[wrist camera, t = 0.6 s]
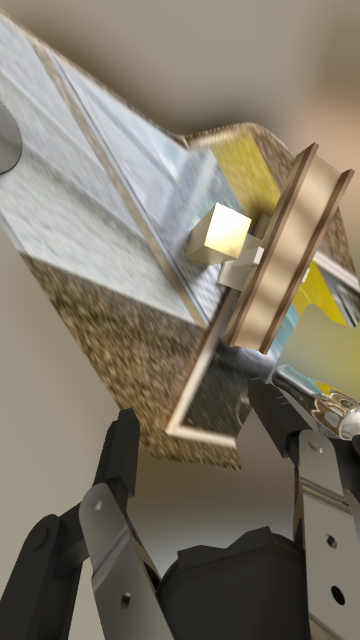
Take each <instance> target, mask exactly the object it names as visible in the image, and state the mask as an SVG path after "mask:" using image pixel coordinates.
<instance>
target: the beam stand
mask: <svg viewBox="0 0 360 640" xmlns="http://www.w3.org/2000/svg"><path fill="white" fill-rule="evenodd" d="M261 242H262V240H261V239H259V238H256V237H254V236H252V235H250V234H248V233H247V234H246V237H245V240H244V243H243V246H242V249H241V252H240V255H239V258H238V259H235V260H231V261H227V262H223V265H222V268H221V272H220V275H219V278H218V281H217V283H219V284H222V285H225V286H228V287H230V288H233V289H236V290H239V291H242V290H243V287H244V285H245V282H246V280H247V277H248V275H249V272H250V270H251V267H252V265H258V264H259V262H260V259H261V257H262V254H263V251H264V248H261V247H260V245H261ZM308 272H309V268H308V270H307V272H306V274H305V276H304V278H303V280H302V282H301V283H304V282H305V279H306V277H307V274H308Z"/></svg>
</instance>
